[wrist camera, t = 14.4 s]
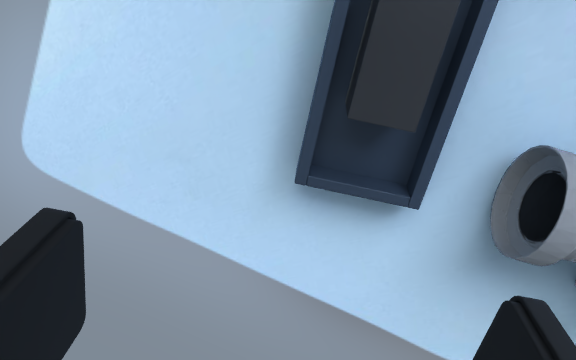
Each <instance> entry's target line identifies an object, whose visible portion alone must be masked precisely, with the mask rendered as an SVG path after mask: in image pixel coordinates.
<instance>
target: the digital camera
mask: <svg viewBox="0 0 576 360" xmlns="http://www.w3.org/2000/svg"><path fill="white" fill-rule="evenodd" d="M491 233H492V238H493V241H494V243H495V246H496V247H497V249H498V250H499V252H500V253H502V254H503V255H504V256H506V257H509V258H512V259H515V260H519V261H522V262H526V263H529V264H532V265H536V266H548V265H551V264H554V263H557V262H558V261H560V260H568V261H571V262H575V263H576V154H573V153H570V152H567V151H563V150H560V149H557V148H553V147H550V146H541V145H540V146H537V147H533V148H530V149H529V150H527V151H526V152H524V153H522V154H521V155H520V156H519V157H518V158H517V159H516V160H515V161H514V162H513V163H512V164H511V166H510V167H509V168H508V169H507V171H506V173H505V174H504V176H503V178H502V179H501V182H500V184H499V186H498V188H497V191H496V194H495V197H494V201H493V204H492V211H491ZM574 285H575V286H576V281H575V284H574Z"/></svg>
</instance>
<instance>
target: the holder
mask: <svg viewBox="0 0 576 360" xmlns="http://www.w3.org/2000/svg"><path fill="white" fill-rule="evenodd" d="M371 1H372V0H335V2H334V6H333V11H332V15H331V20H330V24H329V28H328V33H327V37H326V42H325V46H324V50H323V55H322V59H321V64H320V68H319V73H318V77H317V81H316V86H315V90H314V95H313V99H312V103H311V108H310V112H309V117H308V121H307V125H306V130H305V134H304V139H303V143H302V147H301V152H300V156H299V161H298V165H297V170H296V177H295V183H296V184H301V185H307V186H310V187H315V188H320V189H325V190H329V191H334V192H339V193H343V194H348V195H353V196H357V197H362V198H367V199H371V200H376V201H381V202H385V203H390V204H395V205H399V206H404V207H408V208H413V209H417V210H419V207H420V205H421V202H422V200H423V197H424V194H425V192H426V189H427V186H428V184H429V181H430V179H431V176H432V173H433V171H434V168H435V165H436V163H437V160H438V158H439V155H440V152H441V150H442V147H443V144H444V142H445V139H446V137H447V134H448V131H449V129H450V126H451V124H452V121H453V118H454V116H455V113H456V110H457V108H458V105H459V103H460V100H461V97H462V95H463V92H464V89H465V87H466V84H467V82H468V79H469V76H470V74H471V71H472V68H473V66H474V63H475V61H476V58H477V55H478V53H479V50H480V48H481V45H482V42H483V40H484V37H485V34H486V32H487V29H488V27H489V24H490V21H491V19H492V16H493V13H494V11H495V8H496V6H497V3H498V0H461V2H460V5H459V7H458V10H457V13H456V16H455V19H454V22H453V25H452V28H451V31H450V33H449V36H448V39H447V42H446V45H445V48H444V51H443V54H442V57H441V59H440V62H439V65H438V68H437V71H436V74H435V77H434V80H433V83H432V85H431V88H430V91H429V94H428V97H427V100H426V103H425V106H424V109H423V111H422V114H421V117H420V120H419V123H418V126H417V129H416V132H415V133H413V132H409V131H404V130H399V129H395V128H390V127H386V126H381V125H376V124H372V123H367V122H362V121H358V120H353V119H348V118H347V111H346V103H345V101H346V97H347V93H348V89H349V85H350V81H351V78H352V74H353V70H354V66H355V62H356V58H357V55H358V51H359V47H360V43H361V39H362V36H363V32H364V28H365V24H366V20H367V16H368V13H369V9H370V5H371Z"/></svg>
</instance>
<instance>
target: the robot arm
mask: <svg viewBox="0 0 576 360" xmlns="http://www.w3.org/2000/svg"><path fill="white" fill-rule="evenodd" d="M83 243H84V242H83V224H82V222H81V221H78V220H76V217H75V215H74V214H73V213H71V212H67V211H62V210H56V209H51V208H43V209H42V210H40V211H39V212H38V213H37V214H36V215H35V216H33V217H32V218H31V219H30V220H29V221H28V222H27V223H26V224H24V225H23V226H22V227H21V228H20V229H19V230H18V231H17V232H16V233H14V234H13V235H12V236H11V237H10V238H9V239H8V240H7V241H5V242H4V243H3V244H2V245H1V246H0V360H62V358H63V357H64V355H65V354H66V352H67V351H68V349H69V348H70V346H71V344H72V343H73V341H74V340H75V338H76V337H77V335H78V334H79V332H80V330H81V328H82V326H83V324H84V321H85V315H86V304H85V274H84V273H85V272H84V244H83ZM473 360H576V346H575V345H574V343H573V342H572V340H571V339H570V337H569V336H568V334H567V333H566V331H565V330H564V328H563V327H562V325H561V324H560V322H559V321H558V319H557V318H556V316H555V315H554V313H553V312H552V310H551V309H550V307H549V306H548V305H547V304H546V302H544V301H542V300H538V299H532V298H527V297H522V296H514V297H512V298H511V299H510V301H505V302H503V303H502V305H501V306H500V308H499V310H498V312H497V314H496V316H495V318H494V320H493V322H492V324H491V326H490V327H489V329H488V331H487V333H486V335H485V337H484V339H483V341H482V343H481V345H480V346H479V348H478V350H477V352H476V354H475V356H474V358H473Z"/></svg>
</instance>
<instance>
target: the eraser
mask: <svg viewBox="0 0 576 360" xmlns="http://www.w3.org/2000/svg"><path fill="white" fill-rule="evenodd" d="M460 2H461V0H372V1H371V5H370V9H369V13H368V16H367V20H366V24H365V28H364V32H363V36H362V39H361V43H360V47H359V51H358V55H357V58H356V62H355V66H354V70H353V74H352V78H351V81H350V85H349V89H348V93H347V97H346V101H345V103H346V111H347V118H348V119H353V120H358V121H362V122H367V123H372V124H376V125H381V126H386V127H390V128H395V129H399V130H404V131H409V132H413V133H415V132H416V129H417V126H418V123H419V120H420V117H421V114H422V111H423V109H424V106H425V103H426V100H427V97H428V94H429V91H430V88H431V85H432V83H433V80H434V77H435V74H436V71H437V68H438V65H439V62H440V59H441V57H442V54H443V51H444V48H445V45H446V42H447V39H448V36H449V33H450V31H451V28H452V25H453V22H454V19H455V16H456V13H457V10H458V7H459V5H460Z"/></svg>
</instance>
